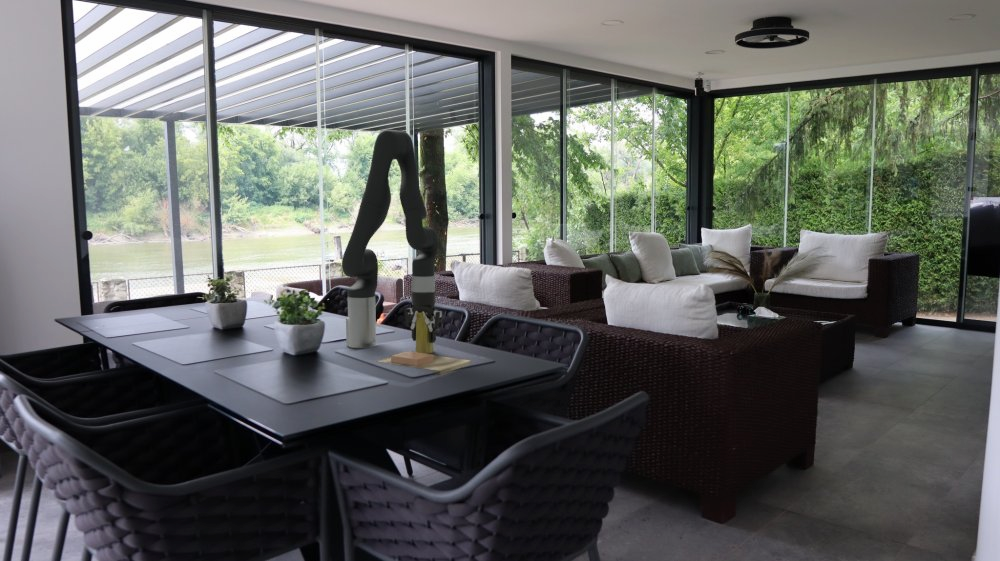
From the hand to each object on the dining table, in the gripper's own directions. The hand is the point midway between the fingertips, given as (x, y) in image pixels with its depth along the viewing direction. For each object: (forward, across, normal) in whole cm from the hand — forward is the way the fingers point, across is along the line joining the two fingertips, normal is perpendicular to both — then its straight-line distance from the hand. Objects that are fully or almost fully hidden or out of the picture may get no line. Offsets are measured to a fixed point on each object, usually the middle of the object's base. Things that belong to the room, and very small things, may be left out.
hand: (423, 341), depth 235 cm
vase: (+5, 0, 0) cm, 5 cm away
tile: (+2, +1, -14) cm, 14 cm away
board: (+5, +8, -11) cm, 14 cm away
